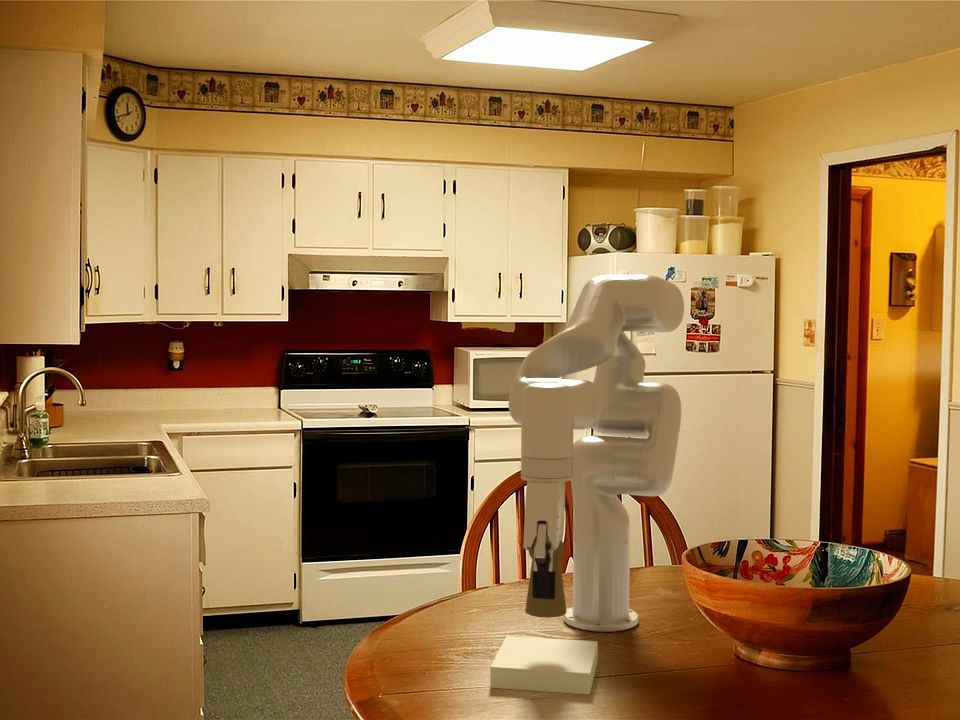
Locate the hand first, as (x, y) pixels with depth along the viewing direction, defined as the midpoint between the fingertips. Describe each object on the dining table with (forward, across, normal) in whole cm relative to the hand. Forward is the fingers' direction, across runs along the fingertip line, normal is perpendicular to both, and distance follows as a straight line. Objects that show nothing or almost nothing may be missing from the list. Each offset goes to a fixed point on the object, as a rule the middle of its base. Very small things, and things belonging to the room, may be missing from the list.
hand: (545, 592), depth 155 cm
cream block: (+12, 0, 0) cm, 12 cm away
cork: (+3, 0, 0) cm, 3 cm away
